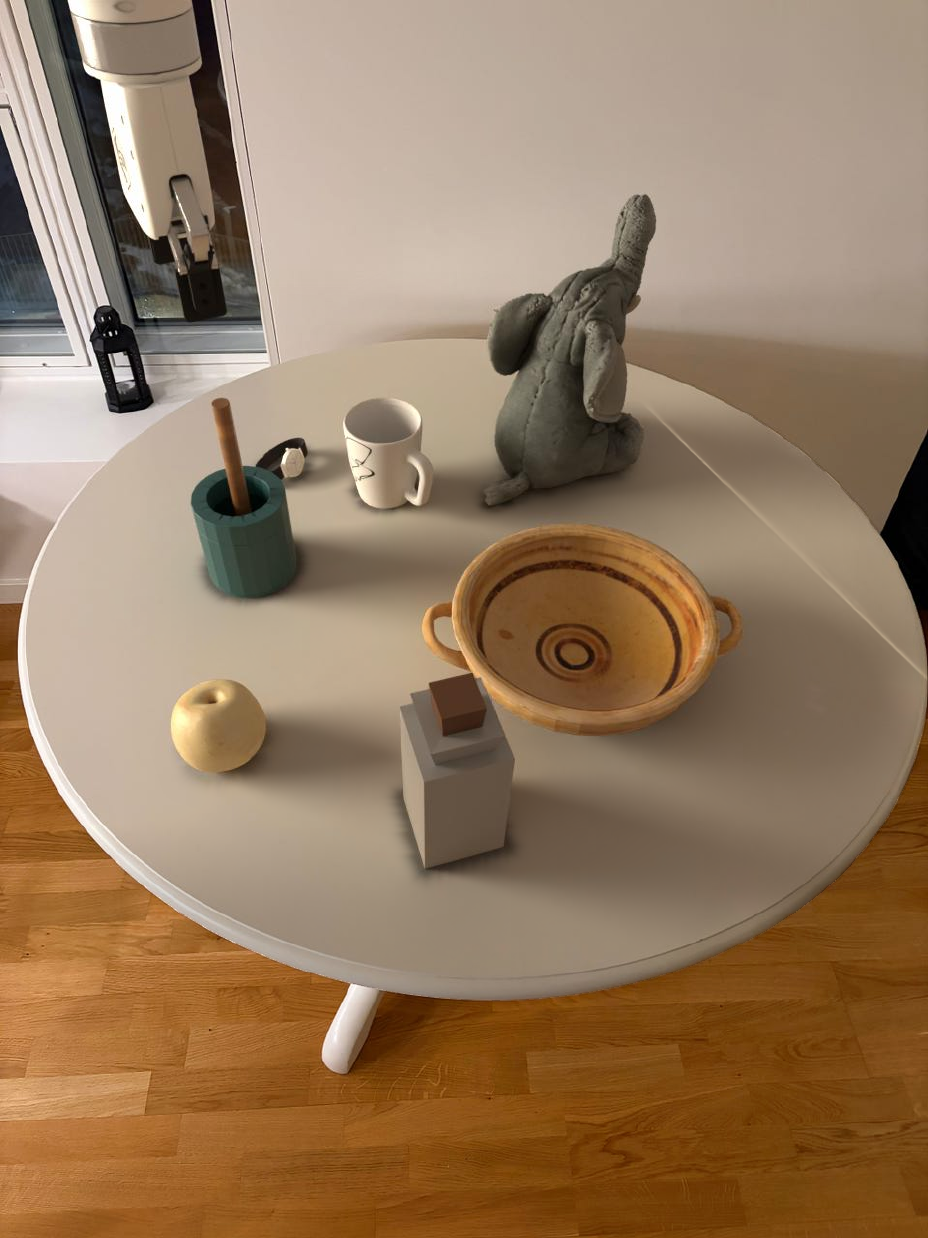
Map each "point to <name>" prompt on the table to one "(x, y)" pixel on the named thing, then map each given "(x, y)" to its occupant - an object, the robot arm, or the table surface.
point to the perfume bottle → (455, 770)
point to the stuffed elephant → (570, 369)
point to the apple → (218, 725)
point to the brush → (231, 455)
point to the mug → (387, 452)
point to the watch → (286, 458)
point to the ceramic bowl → (584, 628)
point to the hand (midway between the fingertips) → (189, 287)
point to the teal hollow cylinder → (245, 534)
